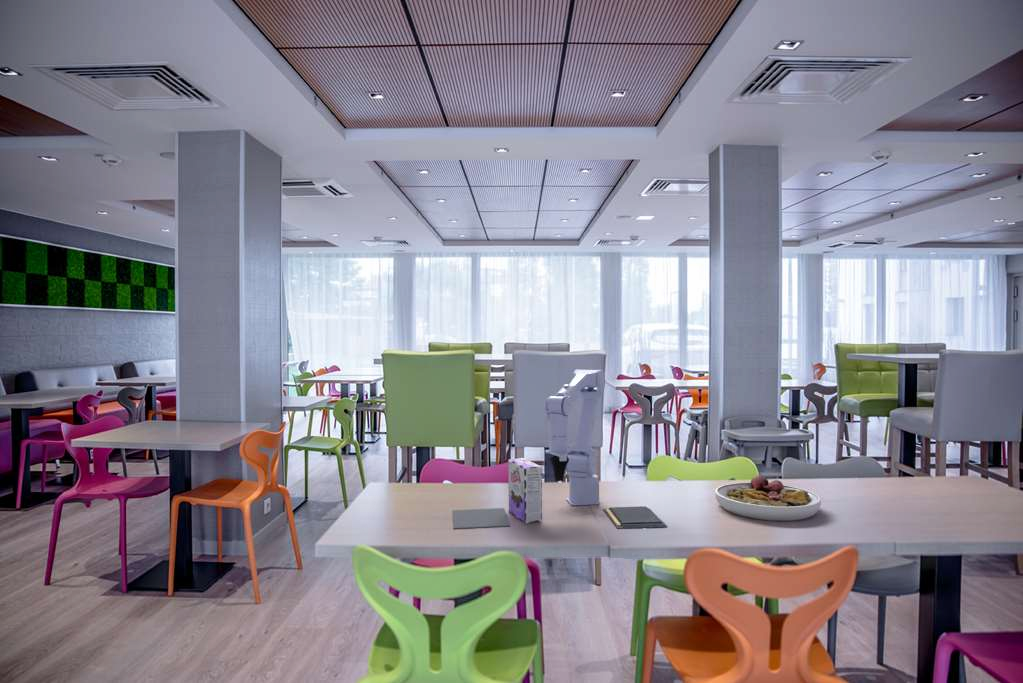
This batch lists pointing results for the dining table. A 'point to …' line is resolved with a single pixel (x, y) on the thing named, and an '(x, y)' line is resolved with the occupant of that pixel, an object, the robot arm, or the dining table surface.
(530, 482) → the candy box
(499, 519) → the mat
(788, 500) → the bowl
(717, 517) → the dining table surface
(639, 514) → the wallet
